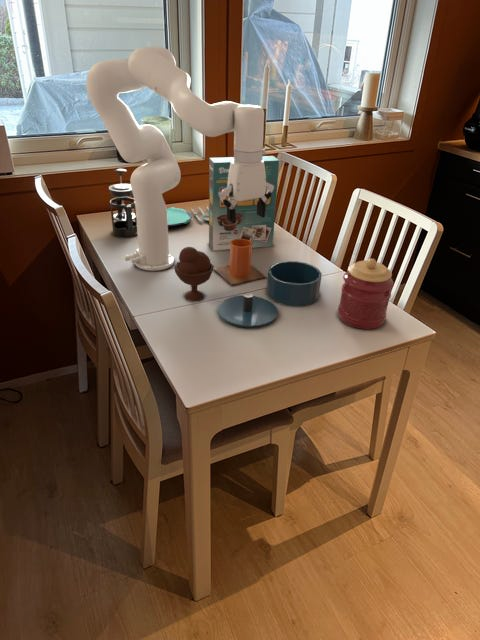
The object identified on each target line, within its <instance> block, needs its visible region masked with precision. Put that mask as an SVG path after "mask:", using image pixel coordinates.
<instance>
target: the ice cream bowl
mask: <svg viewBox="0 0 480 640" xmlns="http://www.w3.org/2000/svg"><path fill="white" fill-rule="evenodd" d="M178 259H179V261H177V262H176V263H175V265H174V266H173V269H174V273H175V274H176V276H177V278H178V279H179V280H180V281H181V282H182V283H184V284H186V285H189V286H190V290H188V291H186V293H185V294H184V298H185V299H186V300H188V301H190V302H199V301H200V300H203V299H204V297H205V294H204V293H203V292H202V291H200V290H199V289H198V286H200V285H203V284H205V283H206V282H208V280H210V278H211V276H212V274H213V271H214V267H215V266H214V264H213V263H211V259H210V257H209V256H208V255H207V254H206V253H205V252H204V251H201V250H197V249H196V248H195V247H192V246H185V247H183V248H182V249H181V250H180V252H179V256H178Z"/></svg>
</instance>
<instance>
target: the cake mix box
mask: <svg viewBox="0 0 480 640" xmlns="http://www.w3.org/2000/svg"><path fill="white" fill-rule="evenodd" d="M208 159H209V163H208V164H209V169H208V170H209V172H208V173H209V174H208V175H209V177H208V178H209V179H208V181H209V183H208V186H209V187H208V202H209V203H208V208H209V211H208V216H209V221H208V245H209V247H210V249H211V250H212V251H213V252H215V251H227V250H230V242H231V241H232V240H234V239H246V240H249V241H251V242H252V249H254V248H265V247H273V246H274V234H275V233H274V232H275V220H276V210H277V209H276V206H277V196H278V181H279V169H280V160H279V159H278V158H277V157H276V156H274V155H263V159H262V160H263V161H264V165H265V174H266V182H267V183H270V184H272V185H274V189H273V192H272V193H271V194H272V195H271V197H270V198H269V199H268V202H267V203H266V210H265V217H263V218H262V217H261V216H259V215H257V202H258V201H259V199H258V198H257V199H251V200H246V201H238V202H237V204H236V205H235V207H234V209H235V210H236V221H235V223H232V222H230V221H228V219H227V207H226V206H225V205H224V204H223V203H222V202H221V199H220V197H219V195H218V194H219V193H220V192H221V191H222V190H224V189H225V188H226V187H227V183H228V174H229V168H230V164H231V161H234V156H230V157H229V156H228V157H227V156H226V157H220V156H219V157H209V158H208ZM266 191H267V187H266ZM266 191H265V192H266ZM226 199H227V200H228V199H229V197H228V196H227V195H226Z"/></svg>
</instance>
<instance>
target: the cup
mask: <svg viewBox="0 0 480 640" xmlns="http://www.w3.org/2000/svg"><path fill="white" fill-rule="evenodd" d="M252 252H253V248H252V242H251V241H249V240H246V239H234V240H232V241H231V242H230V249H229V265H230V274H231V275H233V276H236V277H246V276H248V275H250V272H251V266H252V254H253V253H252Z"/></svg>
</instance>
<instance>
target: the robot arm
mask: <svg viewBox="0 0 480 640" xmlns="http://www.w3.org/2000/svg"><path fill="white" fill-rule="evenodd" d="M85 82H86V83H85V84H86V92H87V96H88V99H89V101H90V103H91V105H92V106H93V108H94V109H95V112H96V113H97V114H98V116H99V117H100V119H101V121H102V123H103V124H104V126H105V128H106V131H107V132H108V134H109V136H110V138H111V140H112V142H113V143H114V145H115V148H116V150H117V151H118V153H119V155H120V156H121V158H122V160H124V161H125V162H127V163H130V164H135V163H139V162H141V161H145V160H146V162H147V163H145V164H141V165H140V166H138V167H137V168H135V169H134V170H133V172H132V173H131V176H130V179H129V181H130V183H129V184H130V185H131V189H132V192H133V195H132V196H133V199H134V201H135V208H136V219H137V232H138V234H137V243H138V244H137V246H138V248H136V249H135V252H133V253H131V254H124V255H123V259H124V261H125V262H129V261H130V263H131V264H134V265H135V267H137V268H138V269H140V270H144V271H149V272H150V271H151V272H154V271H155V272H156V271H157V272H158V271H163V270H166V269H169V268H171V267H172V266H173V265H174V264H175V258H174V256H173V255H171V254H170V248H169V246H170V245H169V226H168V218H167V208H168V207H167V204H166V202H165V199H164V197H163V194H164V193H166V192H168V191H170V190H172V189H174V188H176V187H177V186H178V185H179V184H180V182H181V178H182V177H181V176H182V173H181V169H180V166H179V164H178V161H177V159H176V157H175V155H174V153H173V151H172V150H171V147H170V145H169V143H168V141H167V139H166V137H165V135H164V134H163V132H162V131H161V129H159V128H158V127H157V126H155V125H153V124H149V123H148V124H147V123H145V124H140V125H139V124H138V122H137V120H136V119H135V117H134V114H133V113H132V111H131V109H130V107H129V106H128V105H127V104H126V103H125V102H124V101H123V100H122V99H121V98H120V97H119V94H125V93H131V92H136V91H140V90H143V89H146V88H148V89H150V90H151V91H152V92H154V93H155V94H157V95H158V96H160V97H161V98H163V99H164V100H166V101H167V102H168V103H170V105H171V106H172V108H173V109H172V110H174V112H175V113H176V115H177V116H178V118H179V119H180V120H181V121H182V122H183V123H184V124H186V125H187V126H188V127H190V128H192V129H193V130H195V131H196V132H198V133H199V134H201V135H203V136H206V137H208V138H215V137H219V136H222V135H224V134H227V133H232V132H233V157H234V161H231V164H230V168H229V174H228V183H227V187H226V188H225V189H224V190H222V191H221V192H220V193H219V194H218V195H219V197H220V199H221V202H222V203H223V204H224V205H225V206H226V207H227V219H228V221H230V222H232V223H235V221H236V210H235V209H234V207H235V205H236V204H237V202H238V201H246V200H251V199H257V198H258V199H259V201H258V202H257V215H259V216H261V217H262V218H263V217H265V210H266V203H267V202H268V199H269V198H270V197H271V195H272V194H271V193H272V192H273V189H274V185H272V184H270V183H267V182H266V174H265V165H264V161H263V160H262V159H263V156H266V154H267V151H266V150H265V149H264V127H265V126H264V125H265V111H264V108H263V107H262V106H260V105H256V104H241V103H237V102H234V101H230V100H229V101H228V100H225V101H220V102H216V103H212V104H210V103H208V102H206V101H205V100H203V99H202V98H201V97H199V96H197V95H196V94H195V93H194V92H192V90H191V89H190V87H191V76H190V75H189V74H188V72H186V71H185V70H183V69H181V68H180V67H178V66H177V61H176V59H175V57H174V54H173V53H172V52H171V51H170V50H169V49H167V48H166V47H163V46H143V47H138V48H136V49H134V51H132V52H131V54H130V55H129V57H128V58H123V59H122V58H121V59H108V60H103V61H100V62H97V63H95V64H93V65H92V66H91V68H89V71H88V73H87V76H86V81H85ZM266 187H267V191H266ZM265 191H266V192H265ZM226 195H227V196H228V197H229V199H228V200H227V199H226Z"/></svg>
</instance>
